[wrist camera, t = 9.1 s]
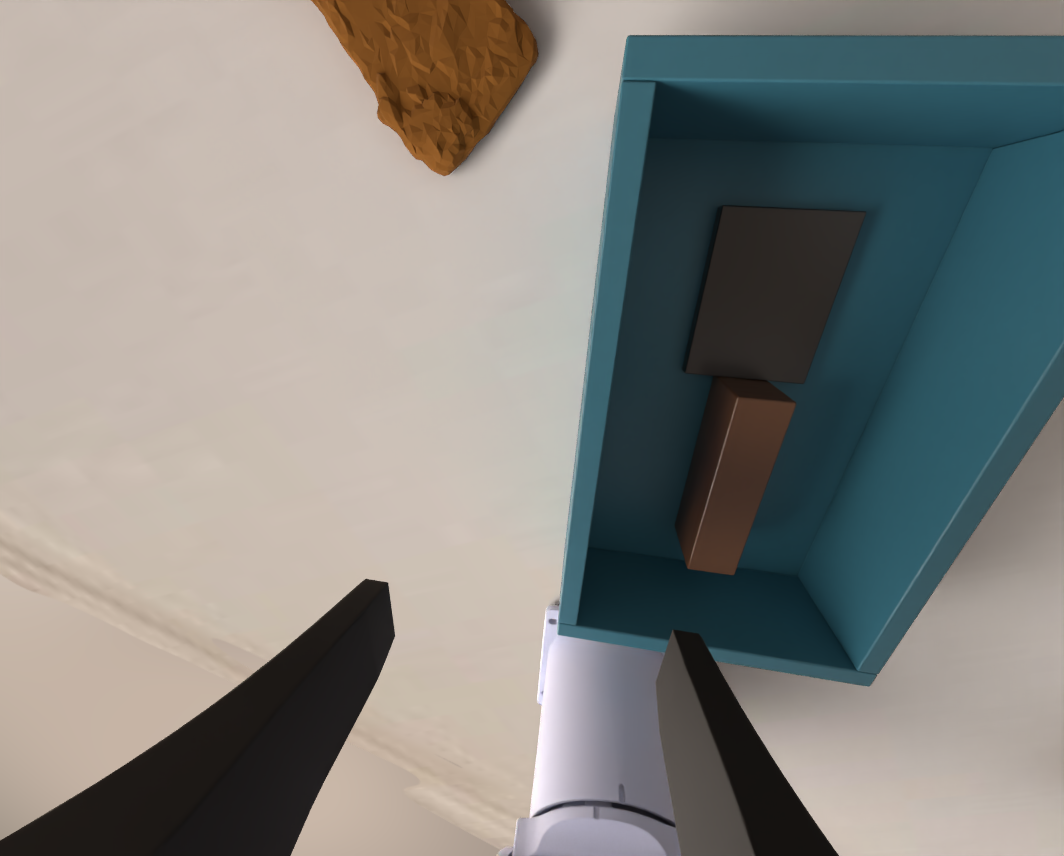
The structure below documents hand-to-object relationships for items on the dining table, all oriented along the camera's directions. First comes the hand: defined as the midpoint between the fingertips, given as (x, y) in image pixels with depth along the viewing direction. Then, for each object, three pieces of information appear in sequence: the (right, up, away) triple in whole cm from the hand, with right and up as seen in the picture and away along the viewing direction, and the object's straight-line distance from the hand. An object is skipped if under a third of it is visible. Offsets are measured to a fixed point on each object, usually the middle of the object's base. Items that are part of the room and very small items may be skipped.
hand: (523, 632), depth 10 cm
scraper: (+9, +7, +7) cm, 13 cm away
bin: (+9, +7, +7) cm, 13 cm away
